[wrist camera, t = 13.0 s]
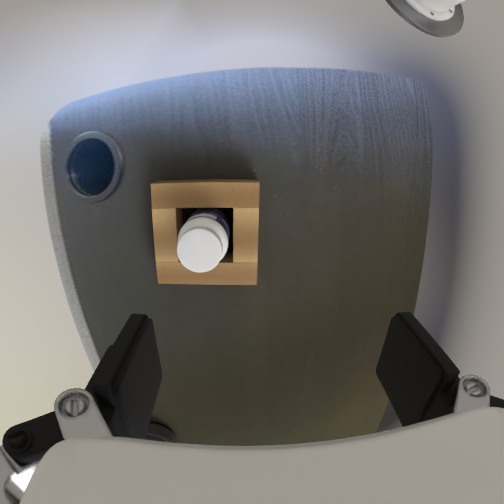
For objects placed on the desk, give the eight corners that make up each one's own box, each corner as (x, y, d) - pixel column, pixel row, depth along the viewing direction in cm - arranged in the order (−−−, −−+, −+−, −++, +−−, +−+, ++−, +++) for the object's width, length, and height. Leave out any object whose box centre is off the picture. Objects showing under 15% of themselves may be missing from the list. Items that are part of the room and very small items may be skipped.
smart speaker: (168, 420, 52) (165, 435, 48) (182, 443, 55) (180, 457, 51) (131, 420, 52) (126, 433, 48) (146, 442, 55) (143, 455, 51)
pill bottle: (230, 247, 40) (227, 278, 31) (188, 248, 40) (173, 277, 31) (230, 205, 38) (226, 223, 29) (186, 206, 38) (169, 224, 29)
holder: (159, 180, 37) (150, 183, 33) (257, 179, 37) (259, 182, 34) (164, 271, 41) (157, 283, 37) (255, 272, 41) (256, 285, 38)
